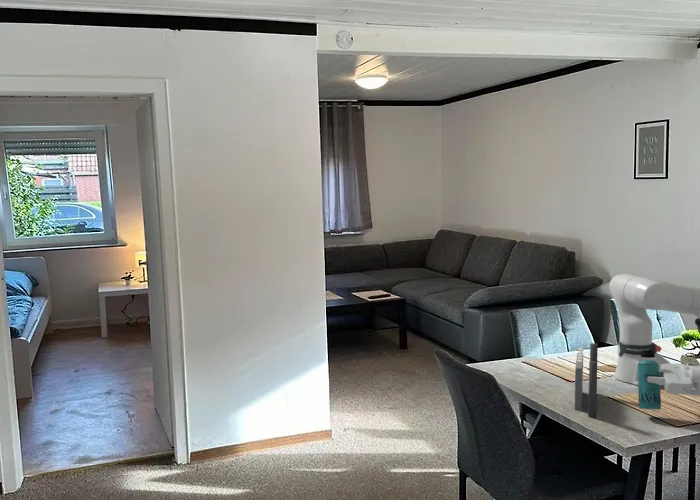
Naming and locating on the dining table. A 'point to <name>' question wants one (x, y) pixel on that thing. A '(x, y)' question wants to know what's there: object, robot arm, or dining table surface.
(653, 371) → the beverage bottle
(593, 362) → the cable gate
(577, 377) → the breaker panel
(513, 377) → the dining table surface
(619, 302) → the robot arm
